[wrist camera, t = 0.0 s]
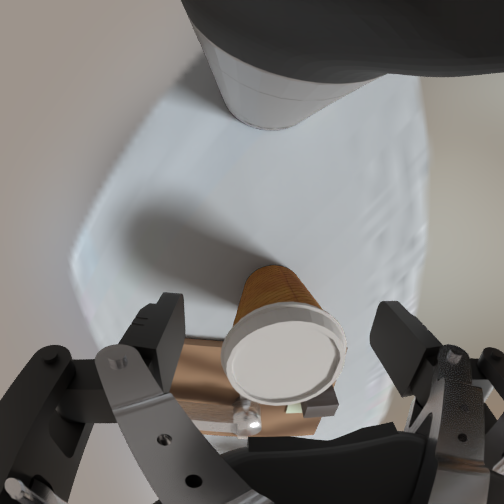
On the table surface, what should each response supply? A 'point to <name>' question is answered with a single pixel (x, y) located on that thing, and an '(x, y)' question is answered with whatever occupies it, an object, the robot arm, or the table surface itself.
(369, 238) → the table surface
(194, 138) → the table surface
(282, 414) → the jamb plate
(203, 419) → the swing bar
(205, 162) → the table surface
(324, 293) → the table surface
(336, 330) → the disposable coffee cup
